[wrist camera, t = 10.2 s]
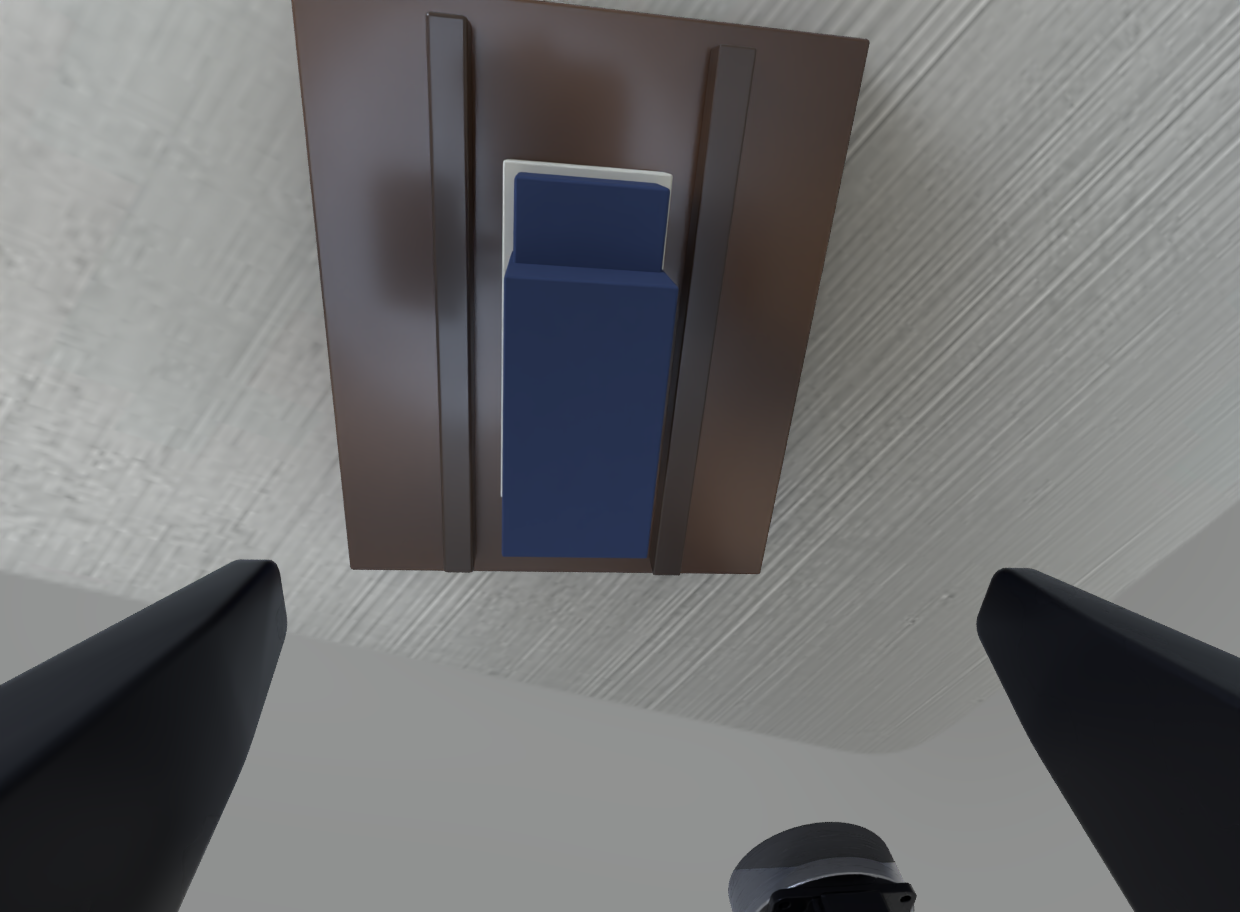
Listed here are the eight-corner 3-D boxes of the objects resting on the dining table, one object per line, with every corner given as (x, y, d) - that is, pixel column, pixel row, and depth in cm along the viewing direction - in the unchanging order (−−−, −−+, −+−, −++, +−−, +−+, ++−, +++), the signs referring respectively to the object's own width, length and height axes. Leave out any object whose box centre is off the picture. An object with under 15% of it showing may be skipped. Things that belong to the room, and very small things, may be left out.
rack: (747, 548, 22) (768, 591, 20) (363, 541, 20) (341, 588, 18) (844, 47, 16) (888, 33, 14) (311, -15, 14) (271, -40, 12)
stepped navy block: (634, 483, 19) (655, 567, 15) (503, 480, 18) (492, 565, 15) (665, 172, 15) (703, 182, 12) (505, 158, 15) (492, 164, 11)
